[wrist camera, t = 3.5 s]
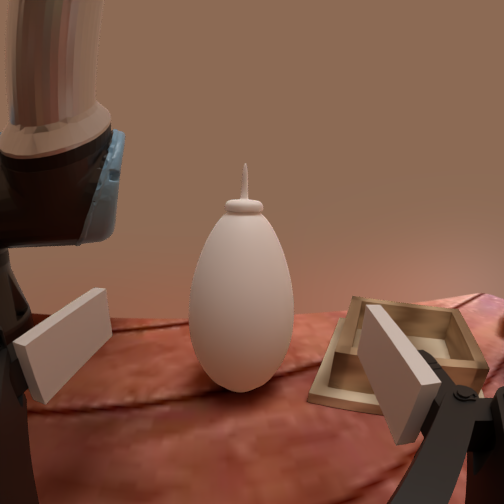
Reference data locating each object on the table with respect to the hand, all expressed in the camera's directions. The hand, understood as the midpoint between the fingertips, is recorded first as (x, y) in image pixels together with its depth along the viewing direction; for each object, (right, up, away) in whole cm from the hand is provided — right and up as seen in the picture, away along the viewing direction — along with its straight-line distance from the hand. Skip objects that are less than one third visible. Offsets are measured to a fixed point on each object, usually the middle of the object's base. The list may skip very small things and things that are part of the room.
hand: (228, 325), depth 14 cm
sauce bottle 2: (0, -8, +10) cm, 13 cm away
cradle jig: (+16, -8, +12) cm, 22 cm away
